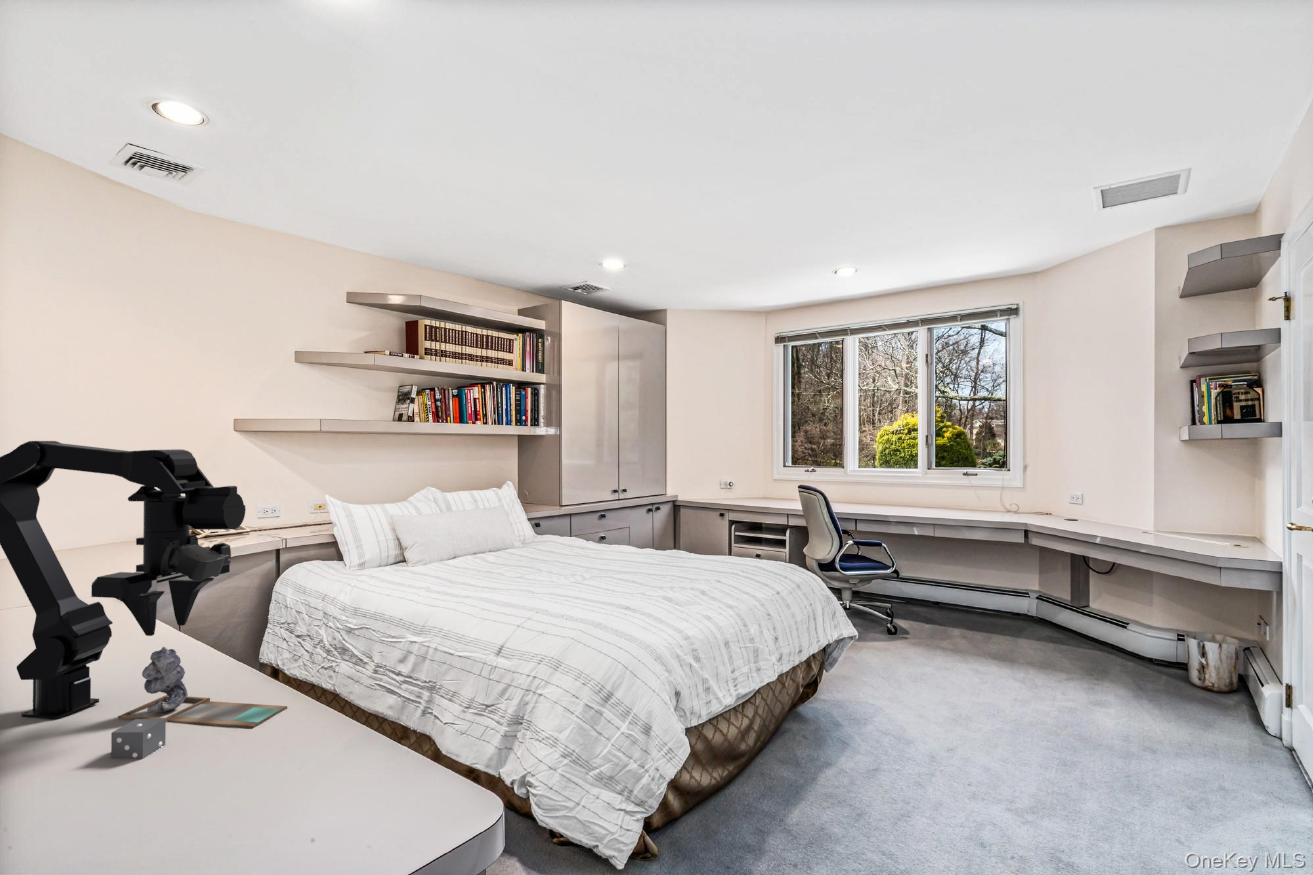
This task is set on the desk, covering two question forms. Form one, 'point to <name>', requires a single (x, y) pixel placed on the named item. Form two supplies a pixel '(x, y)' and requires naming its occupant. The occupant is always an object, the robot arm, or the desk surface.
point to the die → (138, 739)
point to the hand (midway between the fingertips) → (166, 630)
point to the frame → (188, 699)
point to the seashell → (165, 679)
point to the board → (228, 714)
